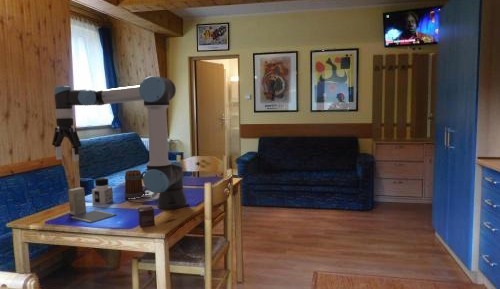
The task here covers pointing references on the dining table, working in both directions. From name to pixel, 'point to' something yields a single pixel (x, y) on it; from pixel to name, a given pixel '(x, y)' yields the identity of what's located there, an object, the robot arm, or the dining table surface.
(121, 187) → the dining table surface
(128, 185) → the mug
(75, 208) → the skincare box
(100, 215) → the mat
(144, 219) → the box
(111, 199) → the container
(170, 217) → the dining table surface
